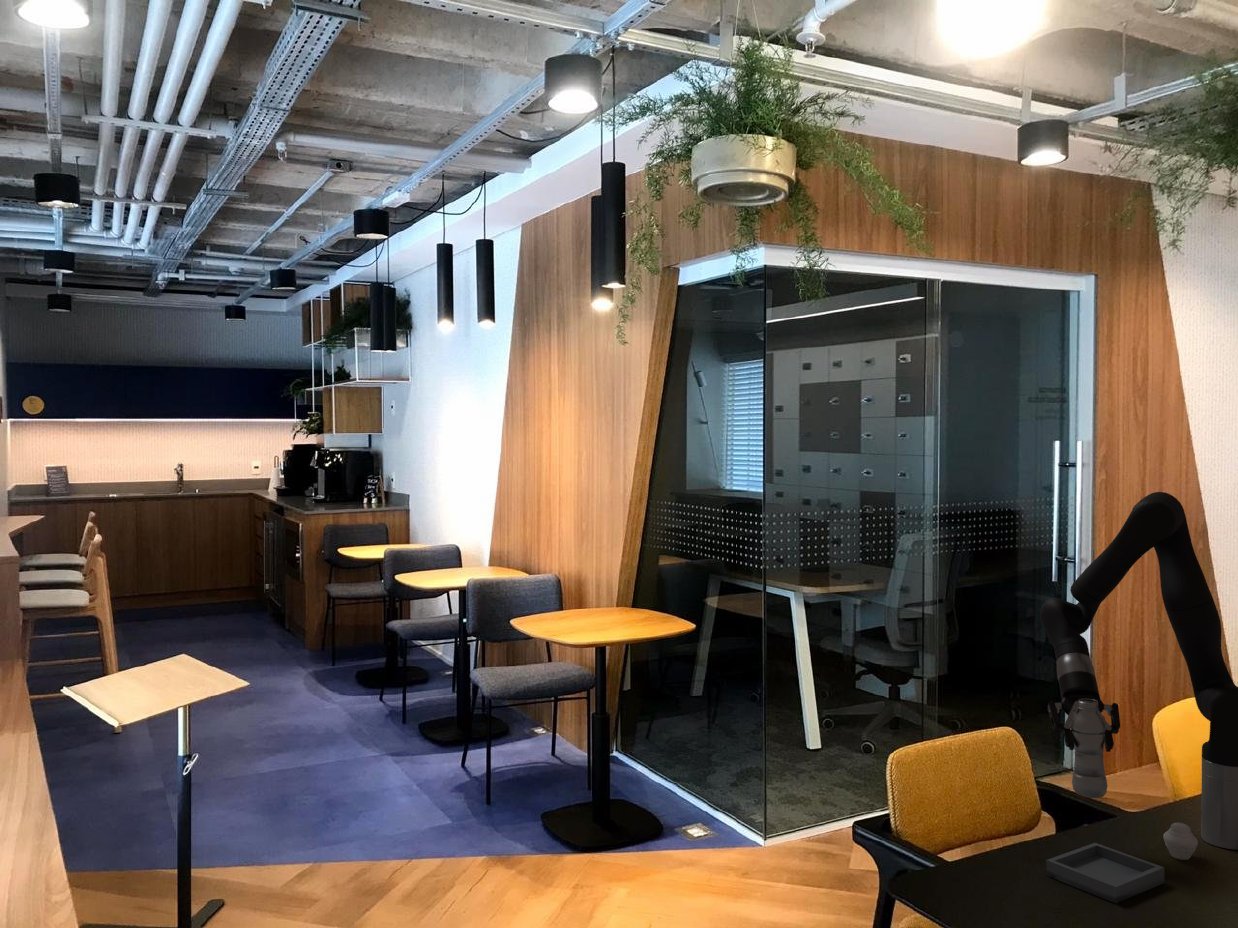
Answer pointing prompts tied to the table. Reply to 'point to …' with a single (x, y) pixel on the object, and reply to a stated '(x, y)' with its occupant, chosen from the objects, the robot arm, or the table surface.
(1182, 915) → the table surface
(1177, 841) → the muffin
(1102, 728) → the plastic bottle
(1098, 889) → the tray
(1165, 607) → the robot arm
